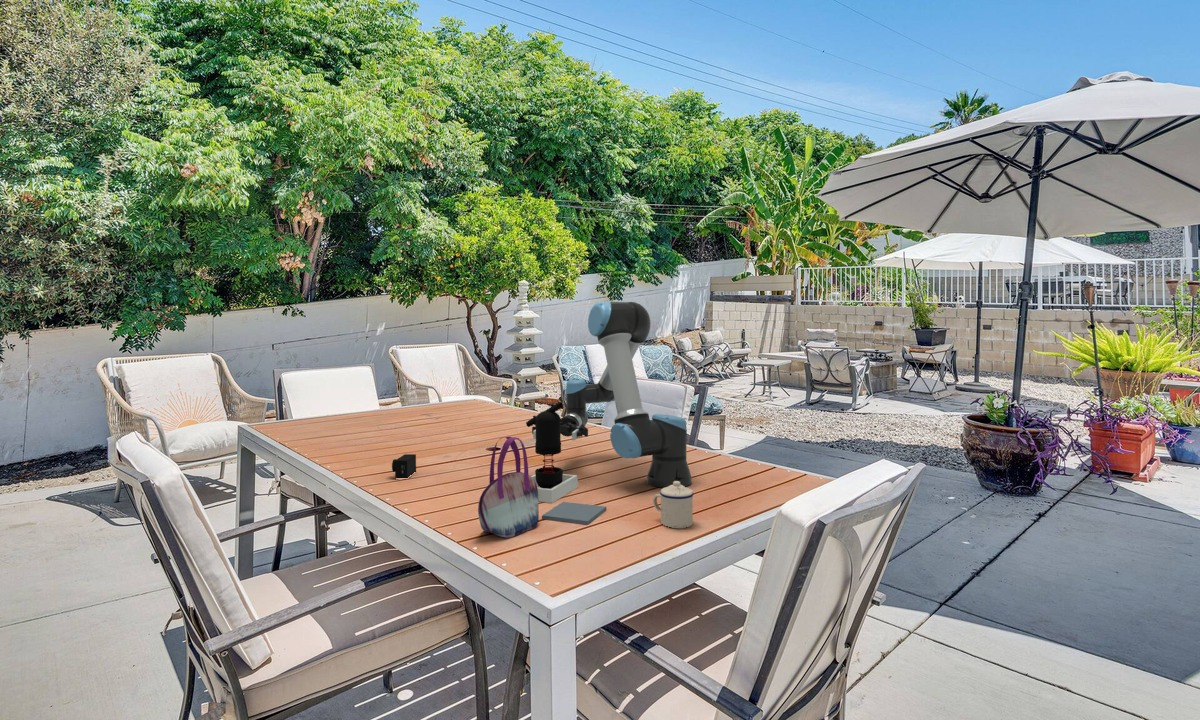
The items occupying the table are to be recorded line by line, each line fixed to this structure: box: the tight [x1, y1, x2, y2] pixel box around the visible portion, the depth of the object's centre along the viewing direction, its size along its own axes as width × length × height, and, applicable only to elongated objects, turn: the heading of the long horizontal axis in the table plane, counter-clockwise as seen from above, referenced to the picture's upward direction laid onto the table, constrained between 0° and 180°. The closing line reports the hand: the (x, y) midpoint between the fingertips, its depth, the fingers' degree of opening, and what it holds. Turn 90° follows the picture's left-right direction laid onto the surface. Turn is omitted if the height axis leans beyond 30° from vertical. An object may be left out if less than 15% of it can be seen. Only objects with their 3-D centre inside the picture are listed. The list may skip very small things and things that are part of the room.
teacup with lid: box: [652, 481, 694, 529], centre depth 170 cm, size 12×9×12 cm
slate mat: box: [541, 501, 607, 526], centre depth 178 cm, size 14×14×1 cm
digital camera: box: [391, 453, 417, 478], centre depth 223 cm, size 10×5×7 cm, turn 179°
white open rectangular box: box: [530, 473, 579, 504], centre depth 200 cm, size 14×19×4 cm
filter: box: [525, 401, 564, 489], centre depth 199 cm, size 14×9×30 cm
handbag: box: [477, 436, 540, 538], centre depth 165 cm, size 21×10×25 cm, turn 143°
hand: (553, 435), depth 209 cm, fingers open, 13 cm apart
